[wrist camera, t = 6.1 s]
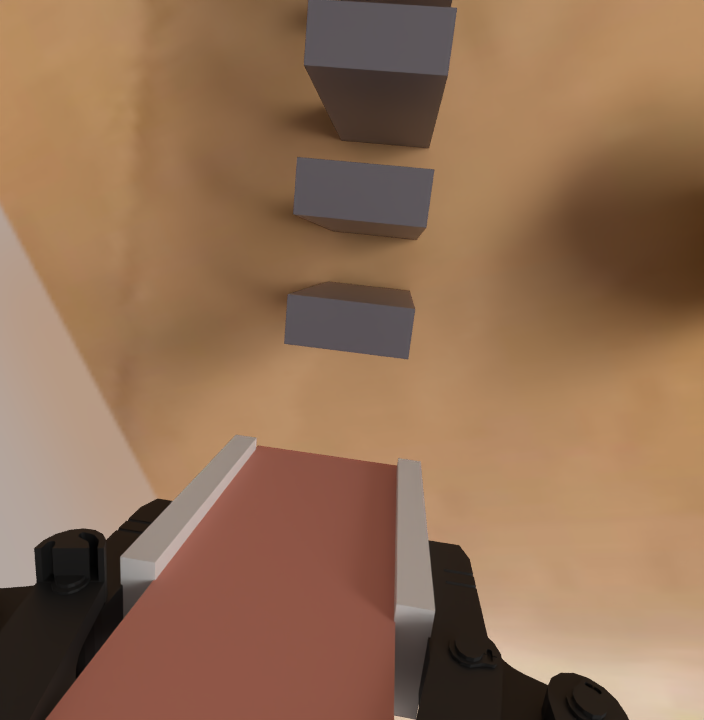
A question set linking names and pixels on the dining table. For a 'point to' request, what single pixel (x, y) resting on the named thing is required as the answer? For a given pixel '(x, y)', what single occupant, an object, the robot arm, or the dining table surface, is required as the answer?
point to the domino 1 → (263, 605)
